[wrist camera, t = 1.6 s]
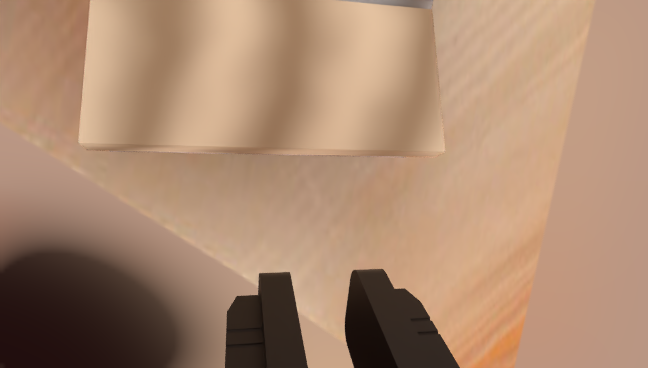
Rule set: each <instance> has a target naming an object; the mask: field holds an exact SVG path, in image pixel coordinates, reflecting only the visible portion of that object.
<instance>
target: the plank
mask: <svg viewBox="0 0 648 368" xmlns="http://www.w3.org/2000/svg"><path fill="white" fill-rule="evenodd" d="M78 143H79V144H80V145H81V146H83V147H84V148H85V149H86V150H96V151H145V152H194V153H242V154H291V155H339V156H388V157H437V156H439V155H440V154H442V153H444V152H445V143H444V132H443V121H442V110H441V100H440V89H439V78H438V68H437V57H436V46H435V35H434V25H433V14H432V9H422V8H412V7H401V6H391V5H380V4H370V3H360V2H349V1H339V0H90V8H89V20H88V32H87V44H86V56H85V68H84V80H83V92H82V104H81V116H80V128H79V140H78Z"/></svg>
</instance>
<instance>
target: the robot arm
mask: <svg viewBox="0 0 648 368" xmlns="http://www.w3.org/2000/svg"><path fill="white" fill-rule="evenodd" d="M226 330H227V331H226V332H227V333H226V356H225V368H308V366H307V361H306V356H305V350H304V345H303V340H302V335H301V329H300V323H299V318H298V312H297V307H296V302H295V296H294V291H293V286H292V280H291V275H290V272H282V273H259V286H258V295H250V296H237V297H236V298H235V300H234V302H233V303H232V305H231V306H230V308H229V310H228V311H227V329H226ZM345 336H346V342H347V346H348V349H349V353H350V356H351V359H352V362H353V365H354V368H460V367H459V366H458V364H457V362H456V361H455V359H454V357H453V355H452V354H451V352H450V350H449V349H448V347H447V345H446V344H445V342H444V340H443V339H442V337H441V335H440V334H438V330H437V329H436V327H435V325H434V324H433V322H432V321H430V317H429V315H428V313H427V312H426V310H425V308H424V307H423V305H422V303H421V302H420V301H419V300H418V299H417V298H415V297H414V296H413V295H412V294H411V293H409V292H408V291H407V290H406V289H394V287H393V285H392V284H391V282H390V280H389V278H388V276H387V274H386V272H385V271H384V270H383V269H370V270H353V271H352V274H351V278H350V286H349V293H348V301H347V308H346V316H345Z"/></svg>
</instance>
